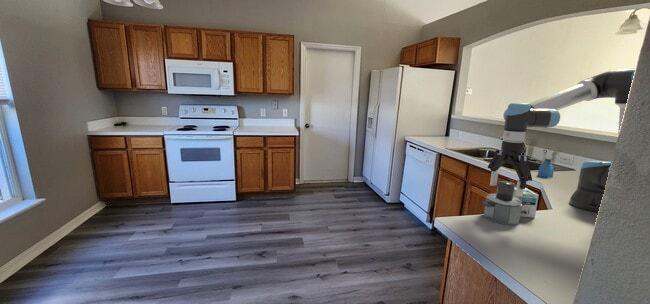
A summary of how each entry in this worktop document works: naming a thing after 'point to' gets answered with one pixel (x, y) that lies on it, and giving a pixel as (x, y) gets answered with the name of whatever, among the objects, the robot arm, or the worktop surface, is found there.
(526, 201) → the light bulb box
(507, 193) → the lid
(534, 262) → the worktop surface
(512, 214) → the pot
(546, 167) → the perfume bottle
